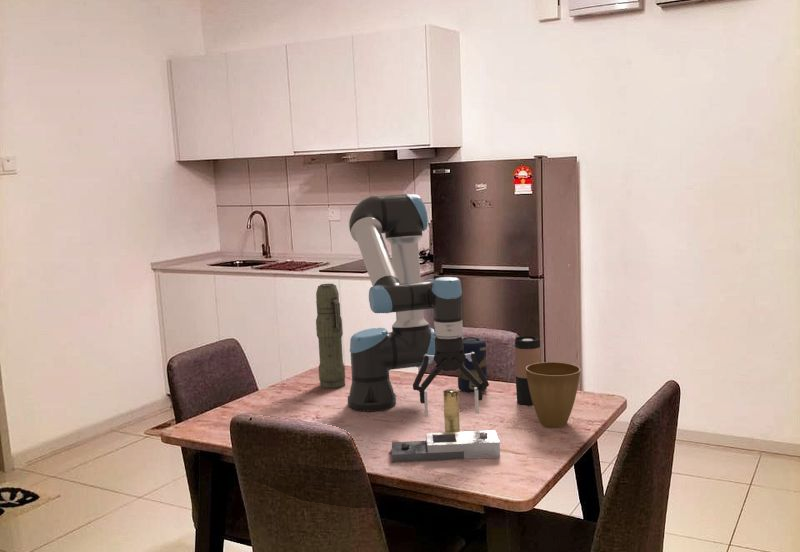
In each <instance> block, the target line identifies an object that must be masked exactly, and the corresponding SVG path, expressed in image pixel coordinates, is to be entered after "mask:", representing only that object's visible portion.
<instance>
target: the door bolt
mask: <svg viewBox="0 0 800 552" xmlns="http://www.w3.org/2000/svg"><path fill="white" fill-rule="evenodd" d="M425 438H426V440H415V441H414V440H413V441H412V440H411V441H392V442H391V463H408V462H410V463H411V462H427V461H428V462H429V461H430V462H431V461H433V462H434V461H451V460H452V461H453V460H454V461H455V460H472V459H474V460H475V459H493V458H496V459H497V458H498V459H499V458H501V444H500V439H499V437H498V434H497V431H496V430H495V429H493V430H492V429H490V430H489V429H488V430H471V431H470V430H468V431H466V430H465V431H460V432H445V431H444V432H428V433H427V432H426V433H425Z"/></svg>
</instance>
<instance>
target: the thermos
mask: <svg viewBox="0 0 800 552" xmlns="http://www.w3.org/2000/svg"><path fill="white" fill-rule="evenodd" d="M339 295H340V293H339V290H338V288H337V285H336V284H334V283H322V284H321V283H320V284H319V285H318V286H317V289H316V293H315V296H316V297H315V298H316V302H315V303H316V315H317V316H316V319H315V325H316V326H315V329H316V337H317V338H318V352H319V355H318V356H319V364H318V365H319V366H318V379H319V388H321V389H324V390H337V389H341V388H343V387H345V386H346V366H345V363H344V358H343V339H342V337H343V333H344V331H343V319H342V316H341V304H340V296H339Z"/></svg>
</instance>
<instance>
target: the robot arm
mask: <svg viewBox="0 0 800 552" xmlns="http://www.w3.org/2000/svg"><path fill="white" fill-rule="evenodd" d="M427 211H428V210H427V207H426V205H425V203H424V200H423V199H422V197H420V195H418V194H413V193H412V194H411V193H407V194H406V193H404V194H391V195H372V196H369V197H366V198H364V199H362V200H361V201H360V202H358V203H357V205H356V206H354V208H353V210H352V212H351V214H350V217H349V221H348V222H349V223H348V226H349V227H348V228H349V232H350V236H351V237H352V239H353V240H354V242H356V243H357V246H358V248H359V250H360V255H361V258H362V260H363V263H364V266H365V268H366V272H367V274H368V277H369V279H370V282H371V285H372V286H371V287H370V288H369V290H368V303H369V308H370V311H372V313H374V314H390V313H395V319H396V320H395V321H394V322H393V324H392V325H391V330H392V331H391V332H388V330H387V329H386V328H384V327H372V328H368V329H363V330H360V331H357V332H356V333H354V334H353V335H352V336H351V337H350V339H349V340H350V342H349V344H350V345H349V352H350V364H351V365H350V366H351V368H350V369H351V370H350V371H351V386H350V390H349V394H348V396H347V407H348V408H349V409H351V410H352V411H353V410H354V411H357V412H358V411H359V412H377V411H385V410H388V409H391V408H393V407H395V406H396V404H397V395H396V394H395V390H394V388H393V385H392V383H391V379H390V371H391V370H399V369H408V368H420V369H419V371H418V373H417V375H416V377H415V379H414V382H413V383H412V390H414V391H417V392H419V402H420V404H424V416H425V417H429V409H428V408H429V407H428V390H427V388H428V387H429V386H430V384H431V383H432V382H433V380H434V379H435V378H436V377H437V376H438V374H440V372H441V371H444V372H449V371H453V372H456V371H458V369H460V370H461V371H462V372H463V373H464V374H465V375H466V376H467V377H468V378H469V379H470V380H471V381H472V382H473V384H474V385H475V386H476V387H474V392H475V393H474V411H475V414H476V415H479V414H480V406H479V405H480V404H479V403H480V401H482V402H483V399H484V398H483V397H484V396H483V392H482V389H483V388H484V387H487V388H488V387H489V386H490V382H489V381H488V378H487V379H486V377H485V375H484V374H483V372H482V370H481V368H480V366H479V365H478V363H477V361H476V355H475V353H474V352H471V353H468V354H464V350H463V338H464V337H463V336H462V335H463V334H464V331H463V329H464V328H463V300H462V299H463V297H462V295H463V290H462V283H461V280H460V278H458V277H456V276H455V277H454V276H453V277H452V276H444V277H436V278H434V279H432V278H431V279H426V280H424V281H422V278H421V266H420V265H421V264H420V251H419V241H420V240H421V239H422V238H423V232H424V231H426V230H427V229H428V222H429V219H428V212H427ZM382 234H384V237H385V238H384V237H383V235H382ZM384 239H385V240H386V241H387V242H388V243H389V244H390V249H391V251H390V252H391V255H390V253H389V250H388V248H387V246H386V243H385V240H384ZM424 310H433V327H434V328H432V327H430V324H429V322H428V321H427V320H426V319H425V318H424ZM466 358H467V359H468V360H469V361H472V363H473V365H474V367H475V369H476V371H477V373H478V374H479V376H480V378H481V380H482V382H481V383H480V382H479V381H478V380H477V379H476V378H475V377H474V376H473V375H472V374H471V372H470V371H469V370H468V369H467V368H466V367H465V366H464V365H463V364H462V363H463V362H464V360H465V359H466ZM433 361H434V362H435V363H436V365H435V366H434V368H433V369H432V371H431V372H430V373H429V374H428V376H427V377H426V378H425V379H424V380H423V382H422V379H423V377H424V375H425V372H426V371H427V368H428V366H430V365H431V364H432V363H433ZM421 382H422V383H421ZM420 384H421V385H420Z"/></svg>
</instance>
